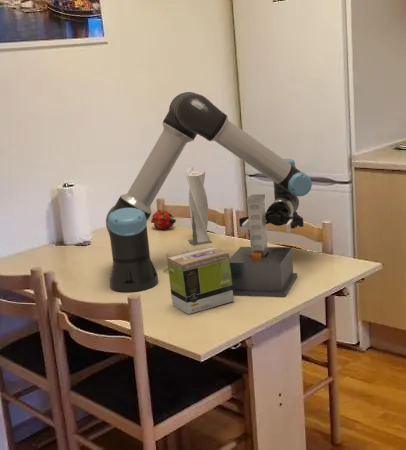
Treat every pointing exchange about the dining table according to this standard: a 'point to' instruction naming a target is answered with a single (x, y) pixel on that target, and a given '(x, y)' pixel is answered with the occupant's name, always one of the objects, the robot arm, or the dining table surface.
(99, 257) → the dining table surface
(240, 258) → the stand base
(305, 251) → the dining table surface
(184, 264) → the tea box
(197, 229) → the skyscraper
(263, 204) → the column
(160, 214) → the dragon fruit
